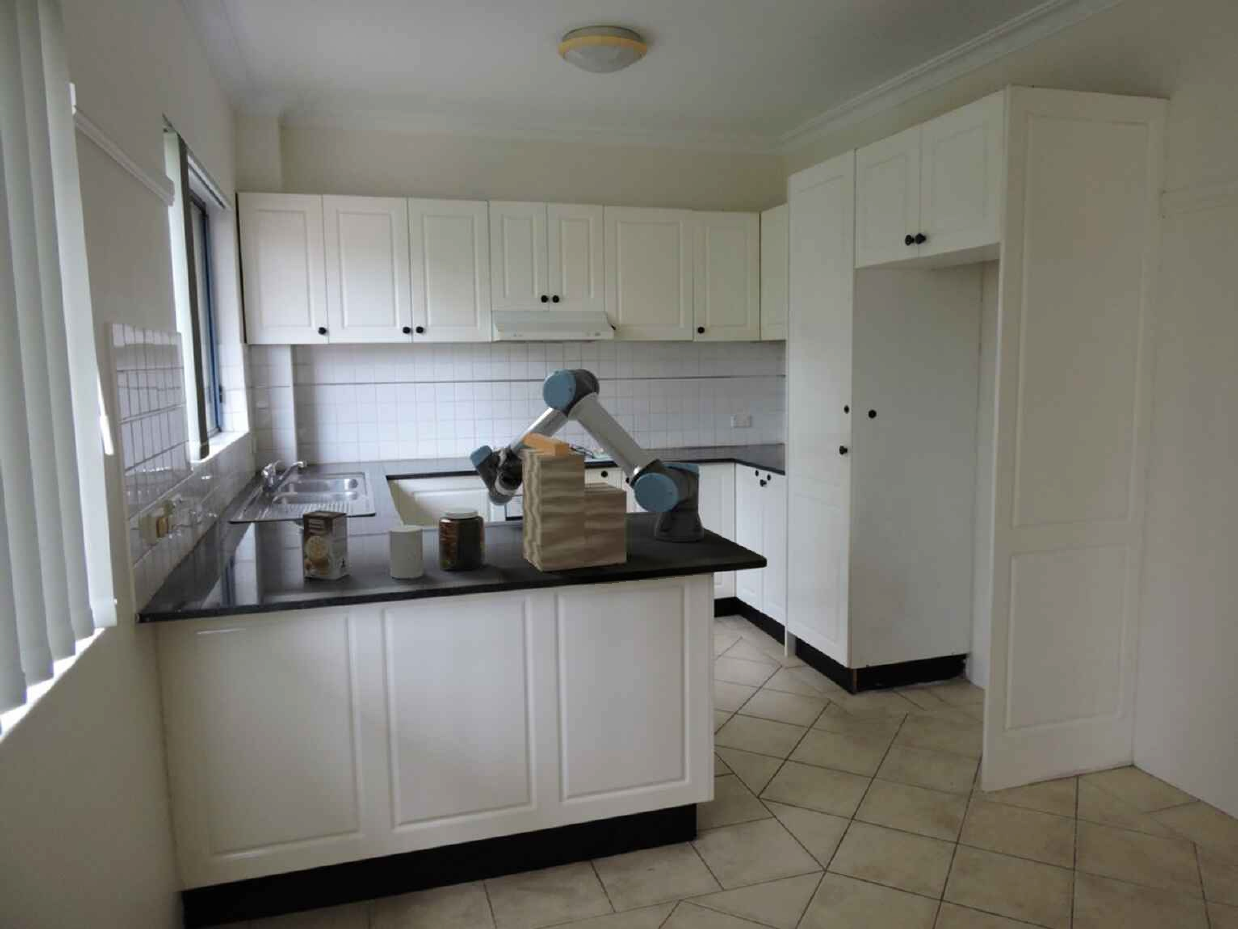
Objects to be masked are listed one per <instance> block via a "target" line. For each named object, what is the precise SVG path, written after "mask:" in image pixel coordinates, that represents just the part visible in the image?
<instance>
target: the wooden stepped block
mask: <svg viewBox="0 0 1238 929" xmlns="http://www.w3.org/2000/svg"><path fill="white" fill-rule="evenodd" d="M585 456H586V455H585V453H582V452H578V451H575V450H573V449H570V455H558V456H554V455H552V454H549V453H546V452H544V451H541V450H538V449H521V457H522V484H521V485H522V549H523V550H522V551H523V552H522V557H524V558H523V559H524V560H526V559H527V560H528V561H527V560H526V561H527V562H529V563H530V564H531V563H532V564H533V567H535V568H536V567H537V568H536V569H538V570H539V571H540V572H541V571H542V572H548V571H549V572H550V571H561V570H568V569H569V570H571V569H578V568H587V567H588V568H589V567H595V566H596V567H598V566H606V565H615V563H618V564H625V563H627V523H628V522H627V520H628V519H627V516H628V515H627V514H628V512H627V510H628V508H627V506H628V504H627V502H628V499H627V498H628V496H627V495H628V494H627V492H628V491H626V490H624V489H621V488H619V487H616V486H614V485H612V484H609V483H606V482H592V483H591V482H589V483H586V481H585V480H586V478H585V477H586V461H585V460H586V457H585ZM532 564H531V565H532Z"/></svg>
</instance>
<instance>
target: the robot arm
mask: <svg viewBox="0 0 1238 929" xmlns="http://www.w3.org/2000/svg"><path fill="white" fill-rule="evenodd" d="M600 387H601V386H600V382H599V380H598V378H597V376H596V375H595V374H594V373H592V372H591V371H590V370H587V369H583V368H582V369H581V368H577V369H559V370H555V371H553V372H550V373H549V374H548V375H547V377H546V378H545V379H544V380H543V385H542V392H541V393H542V399H543V401H544V402H545V404H546V405H547V406H548V407H547V409H546V410H544V411H543V412H542V413H540V415H539V416H538V417H537V418H536V419H535V420H534V421H532V423H531V424H530V425H528V426H527V427H525V429H524V430H523V431H522V432H521V433H520V434H519V435H518V436H517V437H516V438H514V440H512V442H510V443H509V444H508V445H507V446H506V447H505V448H502V449H500V450H495V451H493V449H492V448H491V447H490V446H489V445H487V444H486V445H485V444H484V445H481V446H479V447H478V448H476V449H474V450H473V451H472V452H471V453H470V455H469V459H470V461H471V462H472V465H473V468H475V470H476V472H477V473H478V475H479V476H480V478H481V480H482V482H483V483H484V485H485V487H486V488H487V490H488V493H487V494H488V495H487V496H488V499H489V501H490V502H491V503H492V505H494V506H498V507H503V506H505V505H508V504H509V502H511V501H512V499H513V498H514V496H515V494H516V493H517V491H518V490H519V488H520V487H521V485H522V457H521V449H535V448H533V447H530V446H527V445H525V434H541V435H544V436H547V437H551V438H553V436H554V435H555V434H556V433H557V432H558V431H559V430H560V429H562V428H563V427H564V426H565V425H566V424H567V423H568V422H569V421H571V422H577V423H578V424H579V425H580V426H581V427H582V428H583V429H584V430H585V431H586V432H587V434H589V435H590V437H591V438H592V439H593V440H594V441H595V442H596V443H597V444H598V445H599V447H601V449H602V450H603V451H604V452H605V453H606V454H607V456H609V457H610V458H611V460H612V461H613V462H614V463H615V464H616V465H617V466H618V467H619V469H621V471H623V473H624V474H625V475H626V476H627V477H628V479H629V481H628V486H629V487H630V488H631V489H632V490H633V492H634V496H633V497H634V499H635V501H636V503H637V504H638V505H639V507H640V508H642V509H643V510H644V511H647V512H648V513H654V514H659V515H658V518H657V519H656V520H657V521H656V523H655V526H654V529H653V530H654V531H653V533H654V537H655V539H658V540H662V541H665V542H675V543H680V542H681V543H684V542H685V543H686V542H687V543H689V542H696V541H701V540H703V539H704V537H705V532H704V526H703V523H702V519H701V517H700V513H699V504H700V503H699V501H700V500H699V499H700V498H699V497H700V496H699V495H700V476H701V474H700V467H699V465H698V464H696V463H689V462H688V463H687V462H674V461H673V462H672V461H662V460H660V459H659V457H651V456H650V455H648V453H647V452H646V451H645V450H644V449H643V448H642V447H641V446H640V444H638V443H637V442H636V441H635V440H634V438H633V437H632V436H631V435H630V434H629V433H628V432H627V431H626V430H625V429H624V428H623V426H621V424H620V423H619V422H618V421H617V420H616V419H615V418H614V417H613V416H612V414H610V413H609V412H608V410H606V409H605V407H604V406H603V405H602V404H601V403H600V402H599V400H598V399H599V395H600V391H601V390H600Z"/></svg>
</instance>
